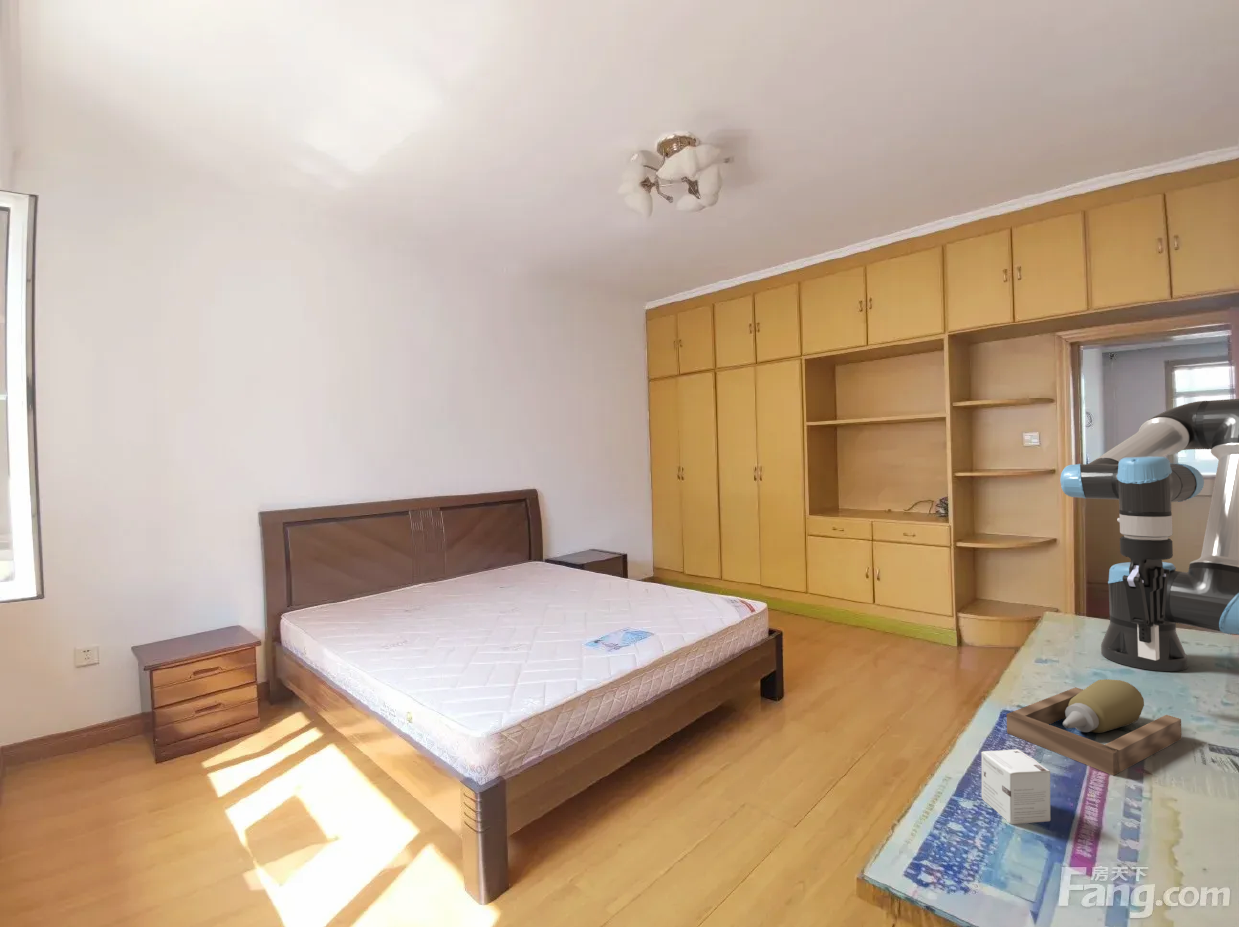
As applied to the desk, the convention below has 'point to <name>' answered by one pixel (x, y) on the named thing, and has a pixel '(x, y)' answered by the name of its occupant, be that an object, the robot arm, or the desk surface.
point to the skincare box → (1016, 786)
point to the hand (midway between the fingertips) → (1148, 657)
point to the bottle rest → (1108, 757)
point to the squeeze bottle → (1104, 707)
